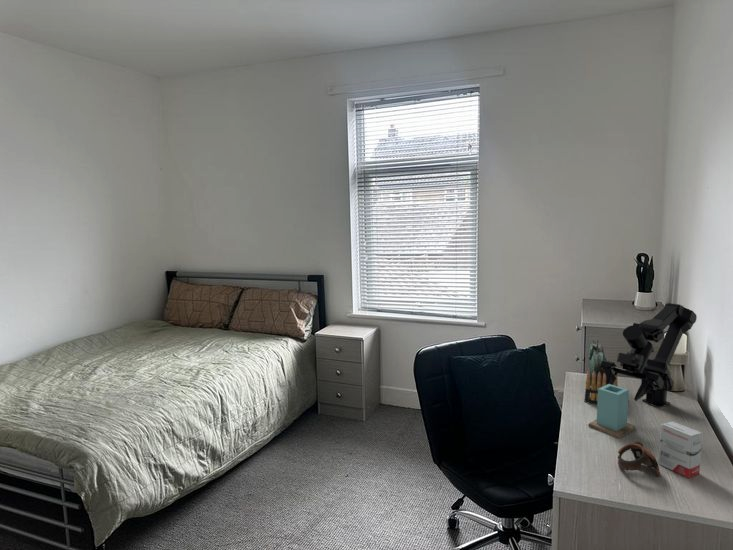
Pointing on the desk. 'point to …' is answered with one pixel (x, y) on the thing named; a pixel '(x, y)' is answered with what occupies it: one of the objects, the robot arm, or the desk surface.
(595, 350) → the green lumpy upright piece
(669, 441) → the ink box
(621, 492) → the desk surface
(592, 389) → the ammunition clip
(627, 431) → the peg plate
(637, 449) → the brown ridged hollow part
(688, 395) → the desk surface
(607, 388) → the teal square planter
